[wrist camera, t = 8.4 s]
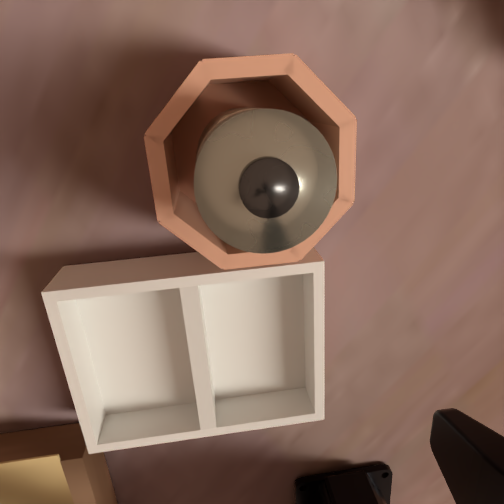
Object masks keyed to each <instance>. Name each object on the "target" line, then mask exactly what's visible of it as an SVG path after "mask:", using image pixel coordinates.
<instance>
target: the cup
mask: <svg viewBox="0 0 504 504" xmlns="http://www.w3.org/2000/svg"><path fill="white" fill-rule="evenodd" d="M233 108H268V109H279V110H284V111H288V112H291V113H294V114H296V115H298V116H300V117H302V118H304V119H305V120H307V121H308V122H310V123H311V124H312V125H313V126H315V127H316V128H317V129H318V130H319V132H320V133H321V134H322V135H323V136H324V138H325V139H326V141H327V142H328V144H329V146H330V148H331V150H332V153H333V156H334V159H335V163H336V168H337V189H336V194H335V199H334V202H333V205H332V207H331V209H330V211H329V214H328V215H327V217H326V219H325V220H324V222H323V223H322V224H321V226H320V227H319V228H318V229H317V230H316V231H315V232H314V233H313V234H312V235H311V236H310V237H308V238H307V239H306V240H305V241H303V242H301V243H300V244H298V245H296V246H294V247H292V248H289V249H287V250H283V251H280V252H275V253H263V254H261V253H251V252H246V251H243V250H240V249H237V248H235V247H233V246H231V245H229V244H227V243H226V242H224V241H222V240H221V239H220V238H219V237H218V236H216V235H215V234H214V233H213V232H212V231H211V229H210V228H209V227H208V226H207V224H206V223H205V221H204V220H203V218H202V216H201V214H200V212H199V209H198V206H197V203H196V199H195V194H194V172H195V164H196V155H197V147H198V142H199V139H200V136H201V134H202V132H203V130H204V128H205V127H206V126H207V124H208V123H209V122H210V121H211V120H212V119H213V118H214V117H216V116H217V115H219V114H220V113H222V112H224V111H226V110H229V109H233ZM355 118H356V117H355V116H354V115H353V114H352V113H351V111H350V110H349V109H348V108H347V107H346V106H345V105H344V104H343V103H342V102H341V101H340V100H339V99H338V98H337V97H336V96H335V95H334V94H333V93H332V92H331V91H330V90H329V89H328V88H327V86H326V85H325V84H324V83H323V82H322V81H321V80H320V79H319V78H318V77H317V76H316V75H315V74H314V73H313V72H312V71H311V70H310V69H309V68H308V67H307V66H306V65H305V64H304V62H303V61H302V60H301V59H300V58H299V57H298V56H297V55H296V54H295V55H293V53H291V54H275V55H259V56H243V57H227V58H211V59H202V62H201V61H199V62H198V64H197V65H196V66H195V67H194V69H193V70H192V71H191V73H190V74H189V75H188V77H187V78H186V79H185V81H184V82H183V83H182V85H181V86H180V87H179V89H178V90H177V91H176V93H175V94H174V95H173V96H172V98H171V99H170V100H169V102H168V103H167V104H166V106H165V107H164V108H163V110H162V111H161V112H160V114H159V115H158V116H157V118H156V119H155V120H154V122H153V123H152V124H151V126H150V127H149V128H148V129H147V131H146V132H145V133H144V134H145V136H144V141H145V148H146V154H147V160H148V166H149V172H150V178H151V185H152V191H153V197H154V203H155V209H156V216H157V221H159V224H161V225H162V226H163V227H165V228H166V229H168V230H169V231H170V232H172V233H173V234H174V235H176V236H177V237H178V238H180V239H181V240H182V241H184V242H185V243H187V244H188V245H189V246H191V247H192V248H193V249H195V250H196V251H197V252H199V253H200V254H202V255H203V256H204V257H206V258H207V259H208V260H210V261H211V262H212V263H214V264H215V265H217V266H218V267H219V268H221V269H224V270H227V269H236V268H245V267H254V266H263V265H272V264H282V263H291V262H299V260H300V261H301V260H302V259H303V258H304V256H305V255H306V254H307V253H308V252H309V251H310V250H311V249H312V248H313V247H314V246H315V245H316V244H317V242H318V241H319V240H320V239H321V238H322V237H323V236H324V235H325V234H326V233H327V232H328V231H329V230H330V229H331V227H332V226H333V225H334V224H335V223H336V222H337V221H338V220H339V219H340V218H341V217H342V216H343V215H344V214H345V212H346V211H347V210H348V209H349V208H350V207H351V206H352V205H353V203H352V202H354V199H355V164H356V129H357V119H355Z"/></svg>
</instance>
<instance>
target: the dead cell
mask: <svg viewBox="0 0 504 504" xmlns="http://www.w3.org/2000/svg"><path fill="white" fill-rule="evenodd" d="M336 189H337V168H336V163H335V159H334V156H333V153H332V150H331V148H330V146H329V144H328V142H327V141H326V139H325V138H324V136H323V135H322V134H321V133H320V132H319V130H318V129H317V128H316V127H315V126H313V125H312V124H311V123H310V122H308V121H307V120H305V119H304V118H302V117H300V116H298V115H296V114H294V113H291V112H288V111H284V110H279V109H268V108H233V109H229V110H226V111H224V112H222V113H220V114H219V115H217V116H216V117H214V118H213V119H212V120H211V121H210V122H209V123H208V124H207V126H206V127H205V128H204V130H203V132H202V134H201V136H200V139H199V142H198V147H197V155H196V164H195V172H194V194H195V199H196V203H197V206H198V209H199V212H200V214H201V216H202V218H203V220H204V221H205V223H206V224H207V226H208V227H209V228H210V229H211V231H212V232H213V233H214V234H215V235H216V236H218V237H219V238H220V239H221V240H222V241H224V242H226V243H227V244H229V245H231V246H233V247H235V248H237V249H240V250H243V251H246V252H251V253H261V254H263V253H275V252H280V251H283V250H287V249H289V248H292V247H294V246H296V245H298V244H300V243H301V242H303V241H305V240H306V239H307V238H308V237H310V236H311V235H312V234H313V233H314V232H315V231H316V230H317V229H318V228H319V227H320V226H321V224H322V223H323V222H324V220H325V219H326V217H327V215H328V214H329V211H330V209H331V207H332V205H333V202H334V199H335V194H336Z"/></svg>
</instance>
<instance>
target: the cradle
mask: <svg viewBox="0 0 504 504" xmlns="http://www.w3.org/2000/svg"><path fill="white" fill-rule="evenodd" d="M0 504H118V503H117V499H116V496H115V492H114V488H113V485H112V481H111V477H110V474H109V470H108V467H107V463H106V459H105V456H104V452H99V453H93V454H89V453H88V450H87V446H86V443H85V440H84V436H83V433H82V429H81V426H80V423H75V424H68V425H61V426H53V427H46V428H39V429H32V430H25V431H18V432H10V433H3V434H0Z"/></svg>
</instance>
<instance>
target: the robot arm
mask: <svg viewBox="0 0 504 504" xmlns="http://www.w3.org/2000/svg"><path fill="white" fill-rule="evenodd" d="M430 445H431V449H432V452H433V454H434V456H435V459H436V461H437V463H438V465H439V467H440V469H441V472H442V474H443V476H444V478H445V480H446V483H447V485H448V487H449V489H450V491H451V493H452V496H453V498H454V500H455V502H456V504H504V437H503V436H502V435H500V434H498V433H496V432H495V431H493V430H491V429H490V428H488V427H486V426H485V425H483V424H481V423H479V422H478V421H476V420H474V419H473V418H471V417H469V416H468V415H466V414H464V413H463V412H461V411H459V410H457V409H454V408H450V409H442V410H437V411H436V412H435V413H434V415H433V422H432V429H431V436H430ZM391 484H392V471H391V469H390V467H389V466H388V465H386V464H382V465H376V466H370V467H363V468H357V469H351V470H345V471H338V472H332V473H326V474H319V475H313V476H307V477H301V478H298V479H297V480H296V481H295V483H294V492H295V504H390V495H391Z"/></svg>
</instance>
